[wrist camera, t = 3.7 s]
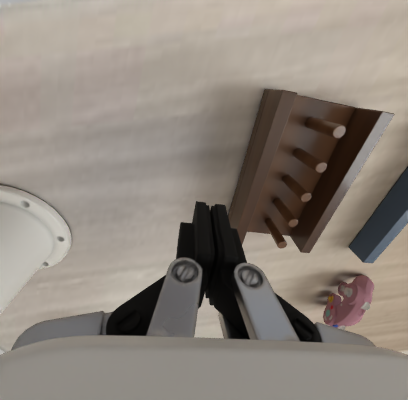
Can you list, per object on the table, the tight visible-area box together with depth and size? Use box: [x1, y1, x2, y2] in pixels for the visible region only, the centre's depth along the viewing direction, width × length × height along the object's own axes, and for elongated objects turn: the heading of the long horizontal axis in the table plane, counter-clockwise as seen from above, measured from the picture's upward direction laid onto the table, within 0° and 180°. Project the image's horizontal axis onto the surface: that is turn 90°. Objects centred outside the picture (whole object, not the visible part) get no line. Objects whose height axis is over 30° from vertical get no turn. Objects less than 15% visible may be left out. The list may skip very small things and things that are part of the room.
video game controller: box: [323, 275, 374, 330], centre depth 33 cm, size 10×5×7 cm, turn 165°
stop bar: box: [349, 167, 408, 263], centre depth 24 cm, size 2×20×3 cm, turn 170°
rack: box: [228, 89, 394, 253], centre depth 20 cm, size 10×16×6 cm, turn 170°
